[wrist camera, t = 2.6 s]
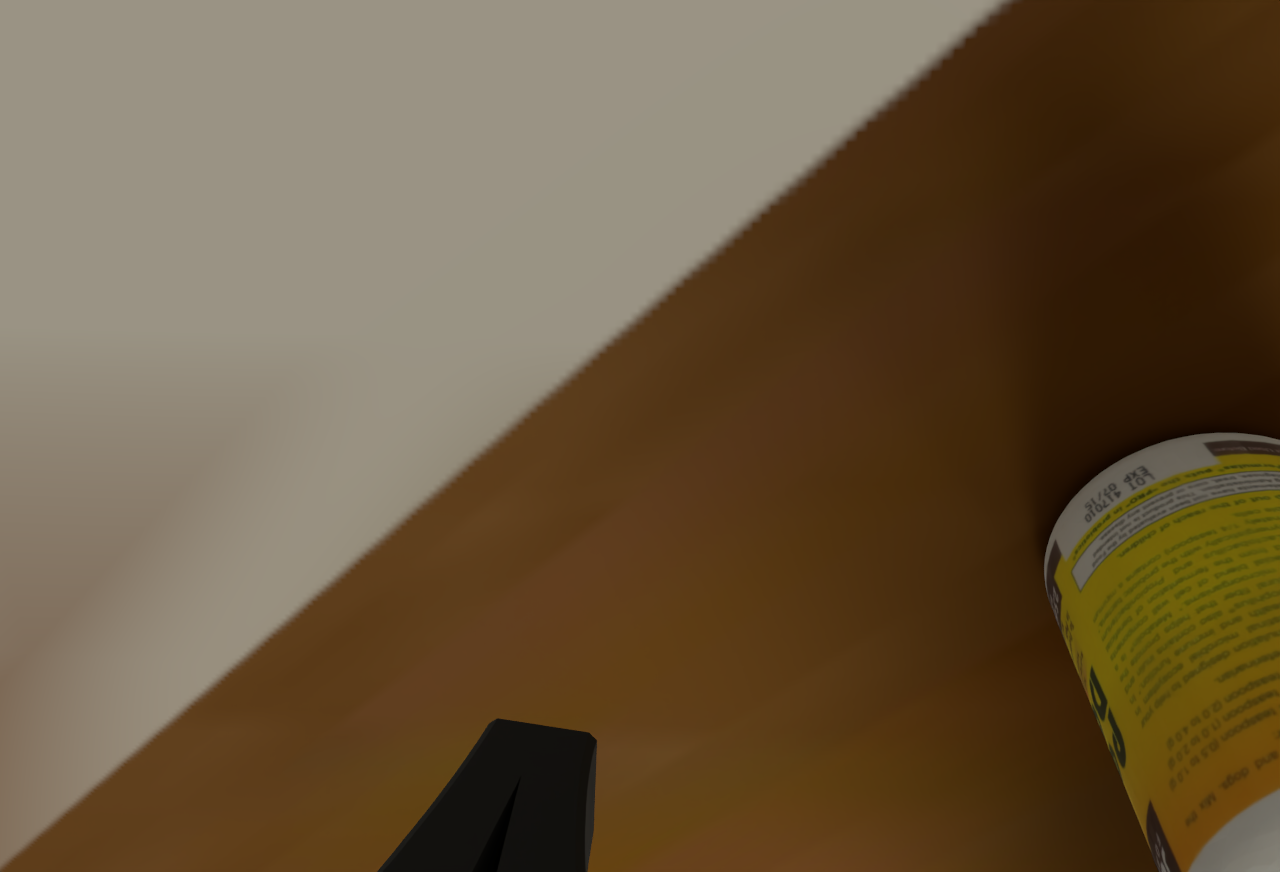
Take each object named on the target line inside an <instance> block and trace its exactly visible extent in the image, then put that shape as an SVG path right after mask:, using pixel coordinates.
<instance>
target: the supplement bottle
mask: <svg viewBox="0 0 1280 872" xmlns="http://www.w3.org/2000/svg"><path fill="white" fill-rule="evenodd" d="M1044 576H1045V585H1046V590H1047V595H1048V598H1049V602H1050V604H1051V607H1052V609H1053V611H1054V614H1055V617H1056V621H1057V623H1058V625H1059V628H1060V630H1061V633H1062V635H1063V638H1064V640H1065V643H1066V645H1067V647H1068V650H1069V652H1070V655H1071V657H1072V660H1073V662H1074V665H1075V667H1076V670H1077V672H1078V674H1079V677H1080V679H1081V682H1082V684H1083V687H1084V689H1085V691H1086V694H1087V696H1088V699H1089V701H1090V704H1091V706H1092V709H1093V712H1094V714H1095V717H1096V719H1097V721H1098V724H1099V726H1100V729H1101V731H1102V733H1103V735H1104V737H1105V740H1106V742H1107V745H1108V748H1109V751H1110V753H1111V755H1112V757H1113V760H1114V762H1115V765H1116V767H1117V769H1118V772H1119V774H1120V776H1121V779H1122V781H1123V784H1124V786H1125V788H1126V791H1127V793H1128V796H1129V798H1130V801H1131V803H1132V806H1133V808H1134V810H1135V813H1136V815H1137V818H1138V820H1139V823H1140V825H1141V828H1142V830H1143V833H1144V835H1145V838H1146V840H1147V843H1148V845H1149V848H1150V850H1151V853H1152V856H1153V859H1154V862H1155V864H1156V866H1157V869H1158V871H1159V872H1280V440H1278V439H1274V438H1269V437H1265V436H1259V435H1252V434H1243V433H1207V434H1197V435H1191V436H1185V437H1180V438H1176V439H1172V440H1167V441H1164V442H1161V443H1158V444H1155V445H1152V446H1149V447H1147V448H1145V449H1142V450H1140V451H1138V452H1135V453H1133V454H1131V455H1129V456H1127V457H1125V458H1123V459H1121V460H1119V461H1118V462H1116V463H1114V464H1113V465H1111V466H1110V467H1108V468H1107V469H1105V470H1104V471H1102V472H1101V473H1099V474H1098V475H1097V476H1096V477H1095V478H1093V479H1092V480H1091V481H1090V482H1089V483H1088V484H1086V485H1085V486H1084V487H1083V488H1082V489H1081V490H1080V491H1079V492H1078V493H1077V494H1076V495H1075V497H1074V498H1073V499H1072V500H1071V501H1070V502H1069V504H1068V505H1067V507H1066V508H1065V509H1064V511H1063V512H1062V514H1061V515H1060V517H1059V519H1058V520H1057V522H1056V524H1055V526H1054V528H1053V531H1052V533H1051V536H1050V538H1049V542H1048V545H1047V549H1046V554H1045V562H1044Z"/></svg>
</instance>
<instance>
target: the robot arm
mask: <svg viewBox="0 0 1280 872" xmlns="http://www.w3.org/2000/svg"><path fill="white" fill-rule="evenodd" d="M596 751H597V740H596V739H595V738H594V737H593V736H592V735H591V734H590V733H588V732H581V731H575V730H569V729H562V728H556V727H549V726H543V725H536V724H530V723H524V722H517V721H511V720H504V719H498V718H497V719H496V720H494V721H492V722H491V723H489V725H488V726H487V728H486V729H485V731H484V732H483V734H482V735H481V737H480V739H479V740H478V742H477V743H476V744H475V746H474V747H473V749H472V750H471V752H470V753H469V755H468V756H467V758H466V759H465V760H464V762H463V763H462V765H461V766H460V767H459V769H458V770H457V772H456V773H455V774H454V776H453V777H452V778H451V780H450V781H449V782H448V784H447V785H446V786H445V788H444V789H443V790H442V792H441V793H440V794H439V796H438V797H437V798H436V800H435V801H434V802H433V804H432V805H431V806H430V808H429V809H428V810H427V811H426V813H425V814H424V815H423V816H422V818H421V819H420V820H419V821H418V823H417V824H416V825H415V826H414V827H413V829H412V830H411V831H410V832H409V834H408V835H407V836H406V837H405V839H404V840H403V841H402V842H401V844H400V845H399V846H398V847H397V848H396V850H395V851H394V852H393V853H392V855H391V856H390V857H389V858H388V859H387V861H386V862H385V863H384V864H383V865H382V867H381V868H380V869H379V870H378V871H377V872H587V870H588V863H589V856H590V850H591V843H592V837H593V830H594V803H595V777H596Z"/></svg>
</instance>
